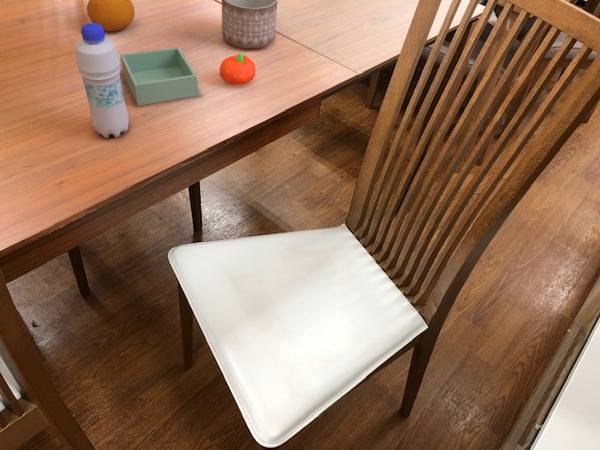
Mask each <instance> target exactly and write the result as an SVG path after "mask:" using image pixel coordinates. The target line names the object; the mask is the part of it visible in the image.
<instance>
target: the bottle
mask: <svg viewBox="0 0 600 450" xmlns="http://www.w3.org/2000/svg"><path fill="white" fill-rule="evenodd" d="M80 33H81V39H79V40H78V41H77V42H76V43H75V58H76V66H77V68H78V73H79V75H80V76H81V77H82V81H83V87H84V88H85V94H86V99H87V102H88V108H89V114H90V120H91V125H92V127H93V129H94V131H95V133H96V134H98V135H101V136H102V137H103V138H106V139H108V138H109V137H110V135H113V136H114V138H119V137H120V134H126V132H127V131H128V129H129V122H130V121H129V119H130V118H129V114H128V110H127V105H126V102H125V97H124V91H123V85H122V81H121V74H120V73H121V69H122V66H120V64H121V59H120V58H119V54H118V51H117V47H116V46H115V42H113V40H111V39H110V38H108V37H106V36H105V35H106V34H105V30H103V28H102V26H101V25H99V24H97V23H93V22H87V23H85V24H83V25H82V26H81V28H80Z"/></svg>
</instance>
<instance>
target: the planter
mask: <svg viewBox="0 0 600 450" xmlns="http://www.w3.org/2000/svg"><path fill="white" fill-rule="evenodd" d="M277 13H278V0H221V35H222V38H223V40H224V41H225V42H227V43H228V44H230V45H233V46H235V47H238V48H242V49H261V48H265V47H267V46H269V45H271V44H273V42H274V41H275V38H276V30H277V29H276V28H277Z"/></svg>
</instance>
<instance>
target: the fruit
mask: <svg viewBox="0 0 600 450" xmlns="http://www.w3.org/2000/svg"><path fill="white" fill-rule="evenodd" d="M86 13H87V16H88V18H89V20H90V21H91V23H97V24H99V25H101V26H102V28H103V30H104V32H105V31H106V32H117V31H122V30H124V29H126V28H128V27H129V26H130V25H131V24H132V22H133V21H134V18H135V14H136V13H135V6H134V3H133V2H132V0H88V2H87V4H86Z"/></svg>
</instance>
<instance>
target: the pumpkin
mask: <svg viewBox="0 0 600 450" xmlns="http://www.w3.org/2000/svg"><path fill="white" fill-rule="evenodd" d="M219 76H220V77H221V79H222V80H223V81H225V82H227V84H231V85H245V84H249V83H250V82H251V81H253V80H254V79H255V76H256V65H255V62H254V61H253V60H252V59H250V57H248V56H247V55H246V54H242V53H237V54H235V55H234V54H233V55H230V56H228V57H225V58H224V59H223V60H222V62H221V63H220V65H219Z"/></svg>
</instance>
